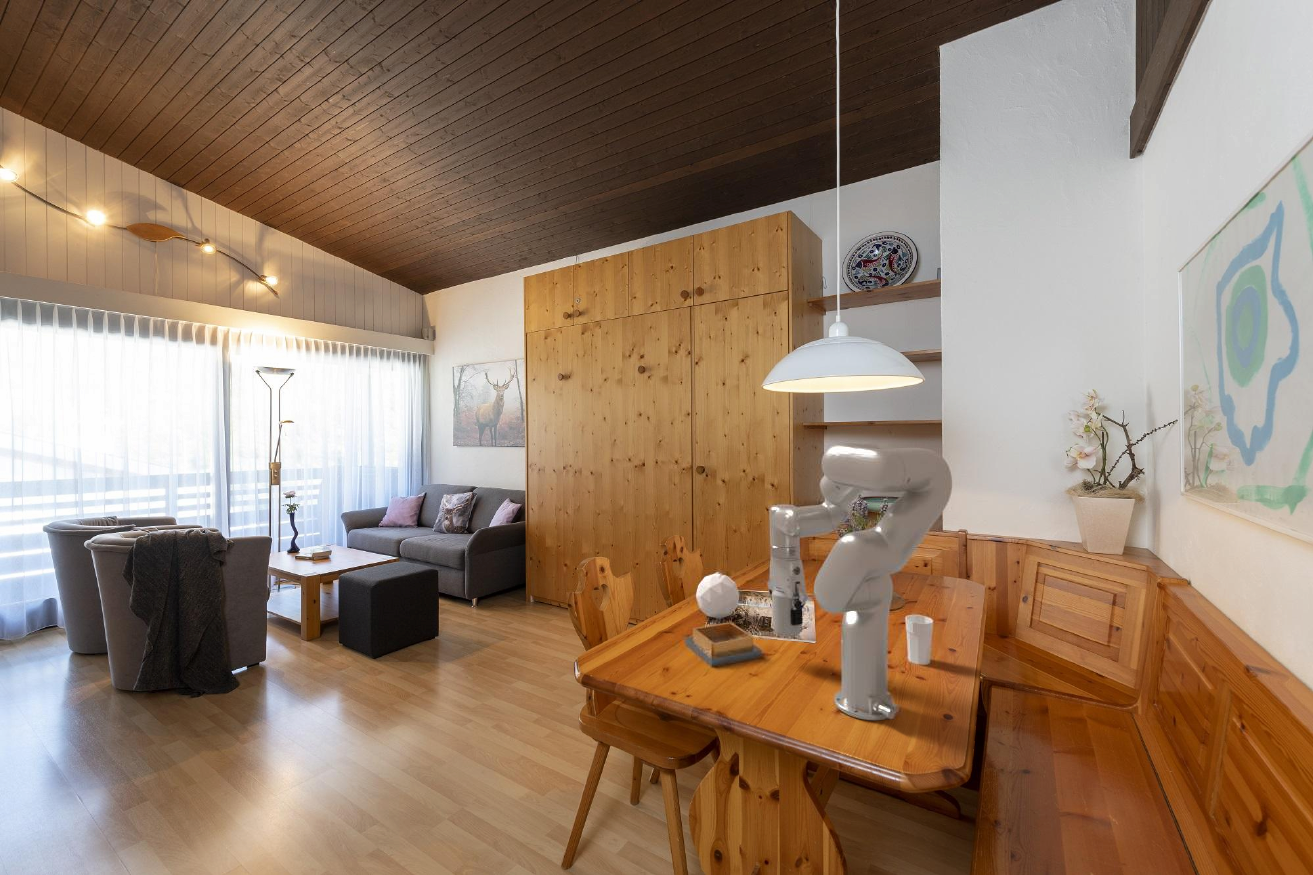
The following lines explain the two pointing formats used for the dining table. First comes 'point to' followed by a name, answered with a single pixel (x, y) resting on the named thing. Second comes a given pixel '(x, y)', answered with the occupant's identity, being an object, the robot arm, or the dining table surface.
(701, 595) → the geodesic sphere
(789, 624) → the can
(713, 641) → the open square box
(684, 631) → the dining table surface
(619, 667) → the dining table surface
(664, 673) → the dining table surface
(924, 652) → the cup
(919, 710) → the dining table surface
